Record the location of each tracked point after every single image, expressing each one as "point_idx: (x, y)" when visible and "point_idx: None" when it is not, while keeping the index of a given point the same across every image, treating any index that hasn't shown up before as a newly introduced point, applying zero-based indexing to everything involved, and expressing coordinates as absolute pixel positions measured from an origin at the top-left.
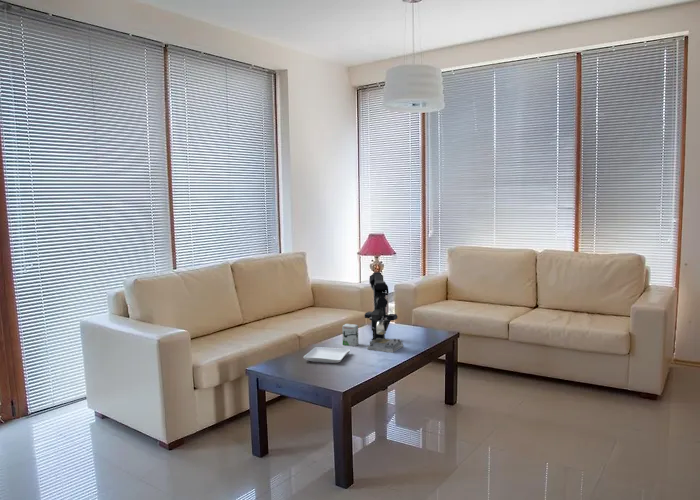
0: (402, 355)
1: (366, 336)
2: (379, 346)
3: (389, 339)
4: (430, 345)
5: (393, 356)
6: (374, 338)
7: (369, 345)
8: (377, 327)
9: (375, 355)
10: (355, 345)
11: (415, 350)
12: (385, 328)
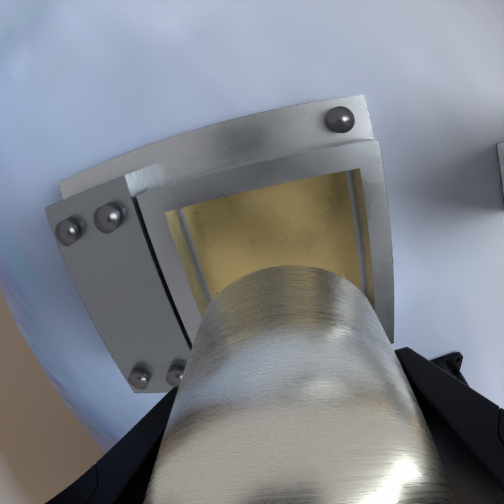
0: (4, 181)
1: (501, 375)
2: (227, 165)
3: None
4: (86, 426)
5: (23, 111)
6: (446, 371)
7: (346, 109)
8: (334, 369)
9: (141, 8)
10: (499, 144)
11: (42, 328)
12: (145, 424)
